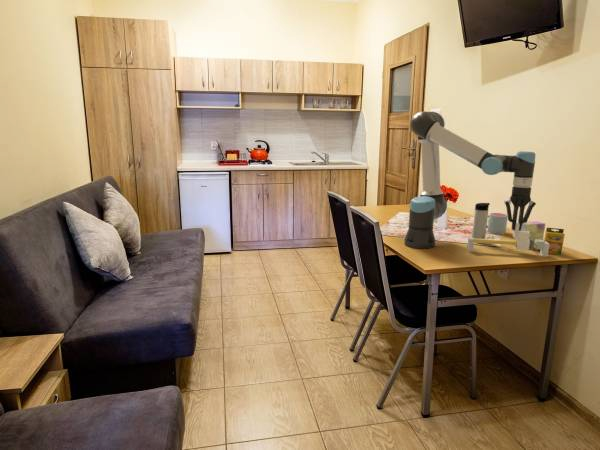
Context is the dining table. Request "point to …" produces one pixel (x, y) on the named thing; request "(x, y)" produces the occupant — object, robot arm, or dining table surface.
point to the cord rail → (537, 244)
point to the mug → (497, 223)
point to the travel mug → (480, 220)
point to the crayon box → (554, 240)
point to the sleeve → (522, 240)
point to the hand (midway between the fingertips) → (515, 236)
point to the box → (534, 229)
